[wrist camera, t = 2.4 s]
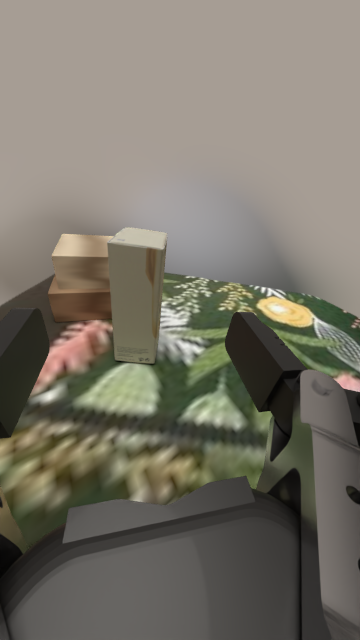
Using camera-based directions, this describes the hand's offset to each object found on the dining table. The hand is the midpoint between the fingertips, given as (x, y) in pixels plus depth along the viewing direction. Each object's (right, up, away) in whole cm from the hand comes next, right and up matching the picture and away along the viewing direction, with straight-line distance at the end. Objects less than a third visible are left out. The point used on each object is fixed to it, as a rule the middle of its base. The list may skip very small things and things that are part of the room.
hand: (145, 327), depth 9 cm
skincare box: (-3, -3, +16) cm, 16 cm away
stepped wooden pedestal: (-10, +4, +23) cm, 25 cm away
